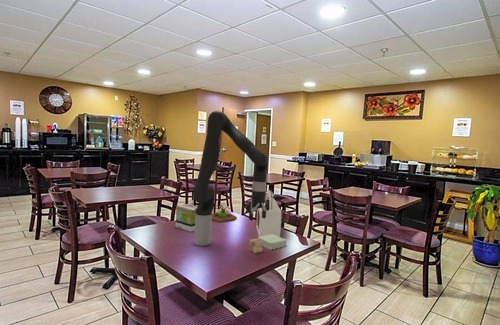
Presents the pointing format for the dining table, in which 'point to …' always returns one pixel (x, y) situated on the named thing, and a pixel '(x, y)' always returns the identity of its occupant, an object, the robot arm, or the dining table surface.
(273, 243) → the sage plinth
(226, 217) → the plant
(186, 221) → the tea box
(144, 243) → the dining table surface
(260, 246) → the maple block
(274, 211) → the gable box
